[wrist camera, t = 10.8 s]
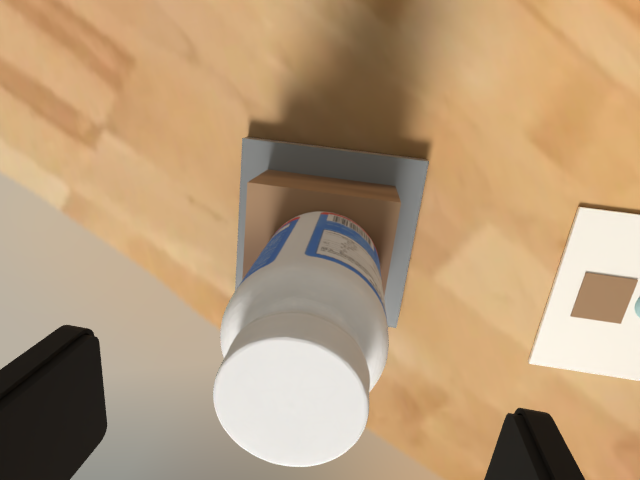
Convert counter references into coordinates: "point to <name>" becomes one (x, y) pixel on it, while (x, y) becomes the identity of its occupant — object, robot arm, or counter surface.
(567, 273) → the page
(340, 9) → the counter surface
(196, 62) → the counter surface
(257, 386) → the pill bottle
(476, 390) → the counter surface
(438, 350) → the counter surface
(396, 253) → the baseplate
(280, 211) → the brown square block
